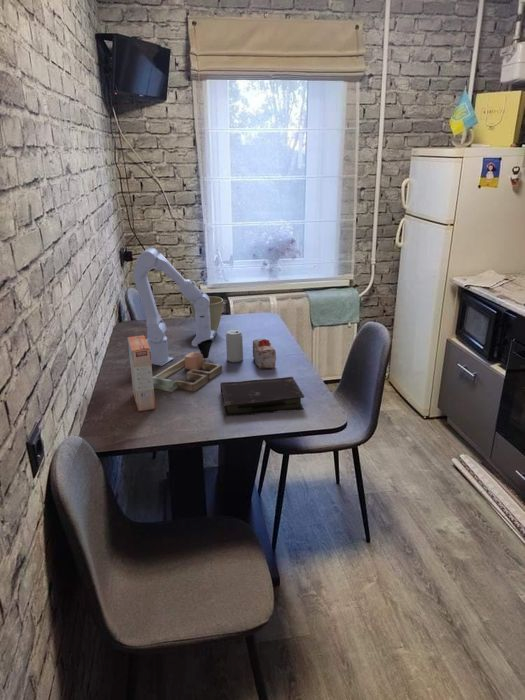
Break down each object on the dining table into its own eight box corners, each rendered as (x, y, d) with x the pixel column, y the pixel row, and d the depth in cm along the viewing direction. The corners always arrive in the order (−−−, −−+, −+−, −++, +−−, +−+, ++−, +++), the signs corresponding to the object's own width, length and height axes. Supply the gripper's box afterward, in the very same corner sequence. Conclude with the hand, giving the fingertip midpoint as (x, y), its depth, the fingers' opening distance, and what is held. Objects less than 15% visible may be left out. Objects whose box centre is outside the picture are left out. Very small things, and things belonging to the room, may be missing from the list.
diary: (220, 394, 167) (220, 380, 166) (292, 388, 171) (292, 374, 169) (225, 419, 150) (225, 404, 148) (305, 412, 154) (305, 397, 152)
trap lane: (148, 387, 172) (147, 376, 170) (187, 362, 193) (187, 352, 191) (188, 395, 165) (187, 384, 163) (225, 369, 186) (224, 359, 184)
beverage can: (240, 363, 191) (239, 334, 186) (225, 362, 192) (223, 333, 188) (244, 357, 196) (243, 329, 192) (229, 356, 198) (228, 328, 193)
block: (185, 368, 187) (184, 356, 185) (192, 364, 191) (191, 352, 190) (196, 370, 185) (195, 358, 183) (203, 366, 189) (202, 354, 188)
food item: (278, 369, 185) (278, 345, 182) (258, 371, 183) (257, 347, 180) (268, 356, 197) (268, 333, 194) (249, 358, 196) (248, 335, 192)
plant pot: (223, 338, 218) (221, 304, 213) (190, 339, 219) (187, 304, 213) (225, 328, 232) (224, 295, 227) (194, 328, 233) (192, 296, 227)
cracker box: (157, 409, 156) (150, 348, 149) (137, 412, 154) (130, 350, 147) (151, 391, 168) (145, 334, 161) (133, 394, 167) (126, 336, 159)
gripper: (202, 331, 182) (204, 365, 187) (221, 321, 194) (223, 352, 199) (186, 329, 185) (188, 362, 190) (206, 319, 197) (208, 350, 202)
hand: (205, 357), depth 195 cm, fingers closed
